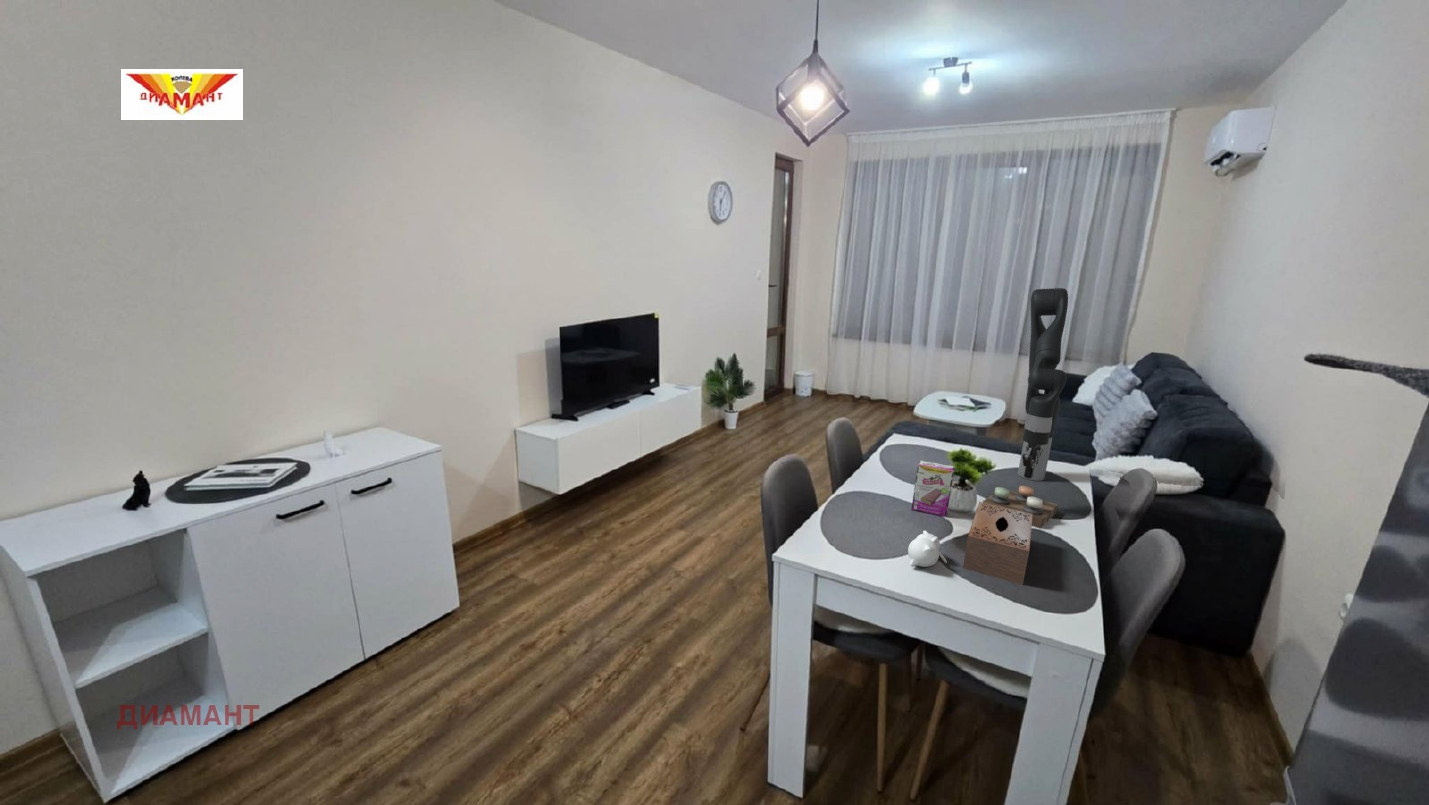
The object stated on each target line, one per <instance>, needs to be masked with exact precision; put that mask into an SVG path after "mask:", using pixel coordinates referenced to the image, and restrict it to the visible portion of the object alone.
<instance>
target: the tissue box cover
mask: <svg viewBox="0 0 1429 805" xmlns="http://www.w3.org/2000/svg"><path fill="white" fill-rule="evenodd" d="M1032 517H1033V514H1031V513H1027V512H1022V511H1018V510H1014V509H1009V508H1005V507H1000V506H996V505H991V504H987V503H983V501H982V502H981V501H978V505H977V508H976V510H975V513H974V517H973V520H972V523H971V526H970V529H969V532H968V535H967V539H966V541H967V542H966V546H965V552H964V558H963V565H962V568H963V569H966V570H969V571H973V572H975V573H979V574H982V575H983V574H984V575H987V576H990V577H993V578H998V579H1000V580H1004V581H1008V582H1012V583H1013V584H1018V585H1023V584H1024V580H1025V575H1026V569H1027V564H1028V559H1029V554H1030V547H1031V546H1030V545H1031V538H1032V537H1031V536H1032V527H1033V526H1032Z"/></svg>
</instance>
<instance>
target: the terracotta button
mask: <svg viewBox="0 0 1429 805" xmlns="http://www.w3.org/2000/svg"><path fill="white" fill-rule="evenodd" d="M1017 493H1019V494H1021V495H1024V496H1032V497H1034V493H1035V489H1034V488H1033V487H1031V486H1028V485H1019V487H1018V492H1017Z"/></svg>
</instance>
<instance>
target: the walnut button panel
mask: <svg viewBox="0 0 1429 805" xmlns="http://www.w3.org/2000/svg"><path fill="white" fill-rule="evenodd" d="M1027 497H1033V496H1024V495H1021V494H1019V493H1018V492H1016V491H1013V490H1010V493H1009V497H1008V498H1001V497H998V496H996V495H995V494H994V493H992V494H991V495H990V496H988V497H987V498H985V499H984V500H983V501H982V503H987V504H991V505H996V506H1000V507H1005V508H1009V509H1014V510H1018V511H1022V512H1027V513H1031V514H1033V517H1032V527H1035V528H1038V529H1041V528H1042V527H1044V525H1046V524H1047V522H1049V521H1050V520H1051V519H1052V518H1053V517H1054V516H1055V515H1056V514H1057V512H1058V506H1059V504H1057V503H1054V502H1049V501H1048V500H1047V501H1046V500H1044V499H1042V500H1043V503H1042V507H1041V508H1034V507H1030V506H1028V505H1027V504H1026V502H1027ZM1049 519H1050V520H1049Z"/></svg>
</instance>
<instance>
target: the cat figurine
mask: <svg viewBox="0 0 1429 805" xmlns="http://www.w3.org/2000/svg"><path fill="white" fill-rule="evenodd" d="M922 532H923V533H921V534H919V535H917V536H916V538H915V539H913V540H912V541H911V542H910V543H909V545H908V548H907V549H908V550H907V553H908V556H909V559H910V560H909V566H910V567H912V568H915V567H917V566H918V567H921V568H928V567H933V565H935V564H936V563H937V561H939V557H940V558H941V560H942V562H943V563H945V564H947V563H948V562H947V559H946V557H945V556H944V555H943V553H942V552H940V549H941V543H940V540H939V538H938V536H936V535H934V534H932V533H929V532H928V530H923V531H922Z"/></svg>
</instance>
